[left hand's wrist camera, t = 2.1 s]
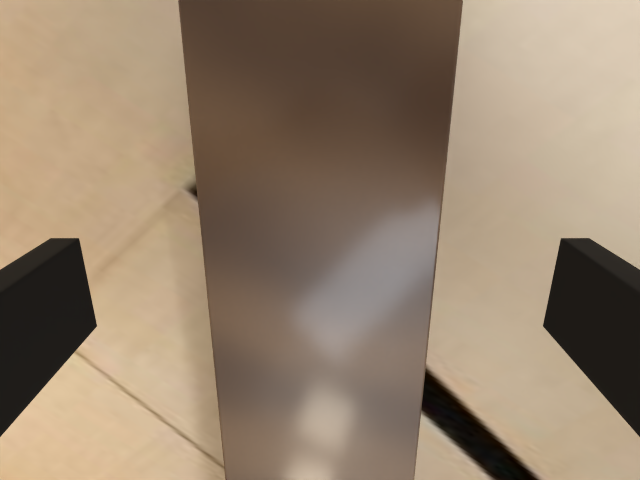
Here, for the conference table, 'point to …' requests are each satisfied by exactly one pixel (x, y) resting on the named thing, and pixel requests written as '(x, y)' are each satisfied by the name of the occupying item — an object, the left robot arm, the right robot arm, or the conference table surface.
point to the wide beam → (320, 223)
